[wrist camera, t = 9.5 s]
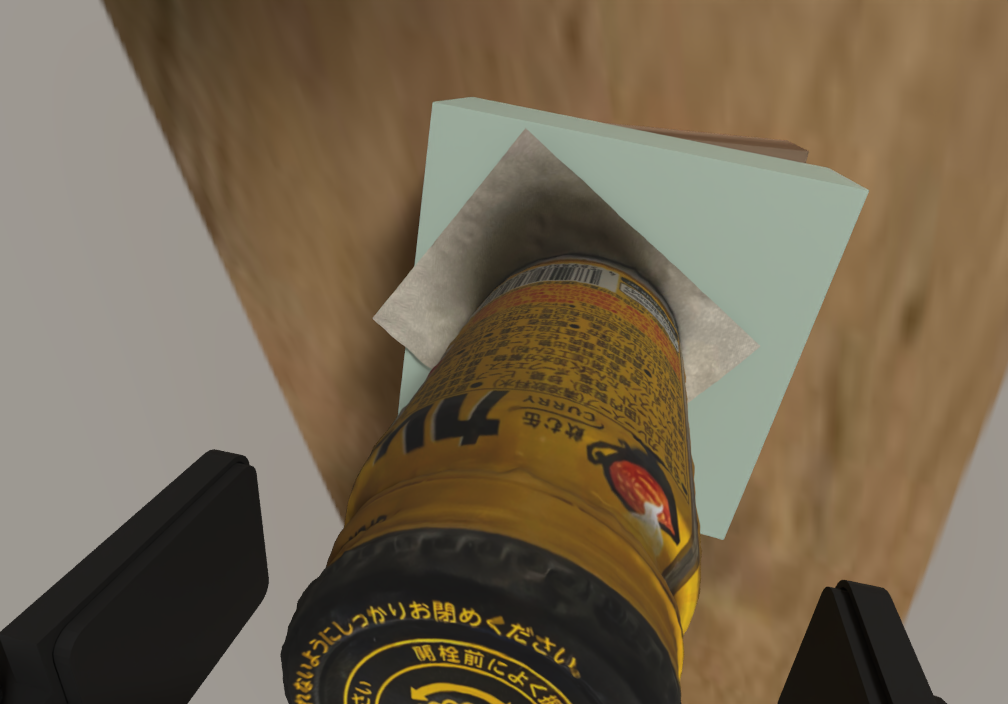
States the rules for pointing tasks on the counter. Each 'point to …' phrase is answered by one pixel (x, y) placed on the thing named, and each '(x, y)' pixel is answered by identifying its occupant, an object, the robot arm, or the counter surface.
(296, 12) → the counter surface
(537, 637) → the condiment
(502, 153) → the top block
